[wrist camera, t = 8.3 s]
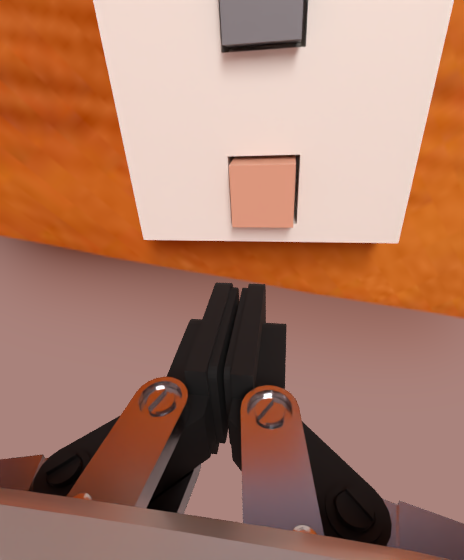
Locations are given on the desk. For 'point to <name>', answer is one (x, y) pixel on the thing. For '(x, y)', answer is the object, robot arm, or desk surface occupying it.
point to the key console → (274, 113)
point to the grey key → (260, 22)
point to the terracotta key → (262, 191)
